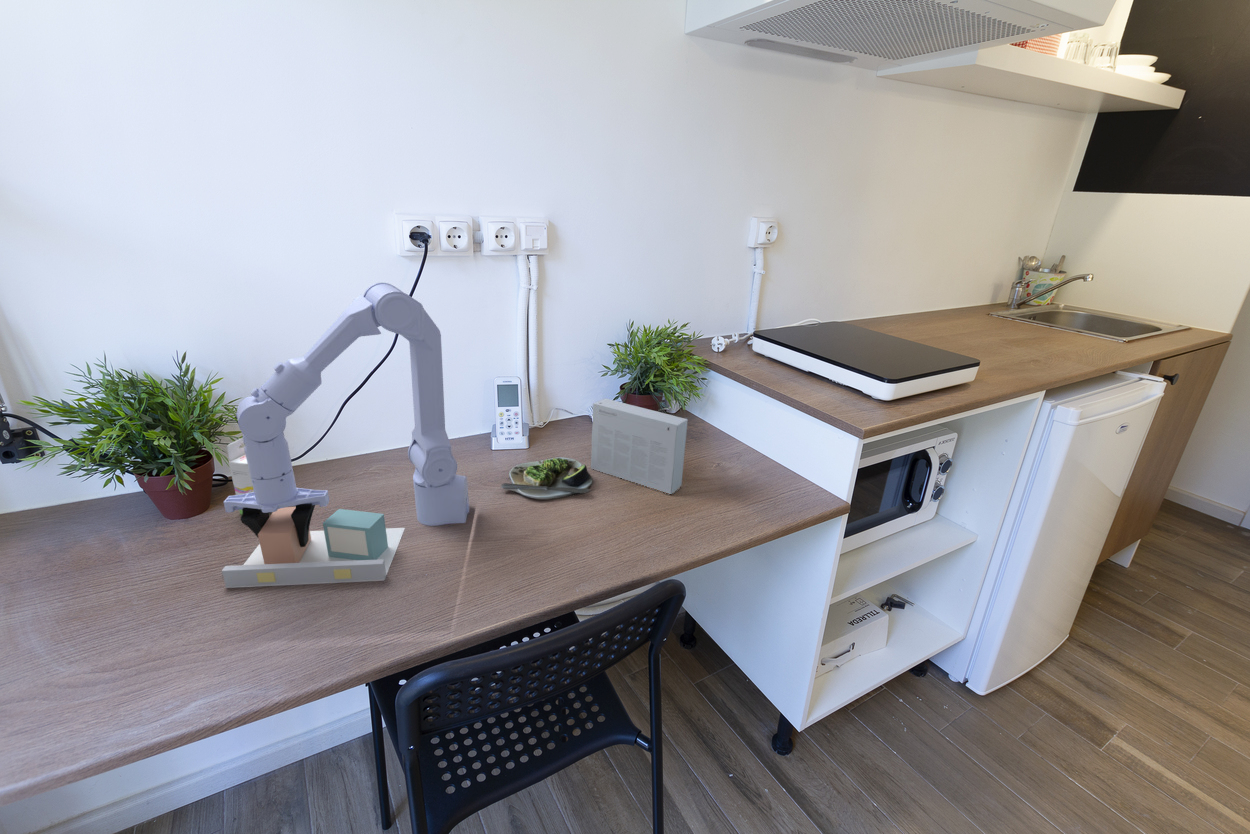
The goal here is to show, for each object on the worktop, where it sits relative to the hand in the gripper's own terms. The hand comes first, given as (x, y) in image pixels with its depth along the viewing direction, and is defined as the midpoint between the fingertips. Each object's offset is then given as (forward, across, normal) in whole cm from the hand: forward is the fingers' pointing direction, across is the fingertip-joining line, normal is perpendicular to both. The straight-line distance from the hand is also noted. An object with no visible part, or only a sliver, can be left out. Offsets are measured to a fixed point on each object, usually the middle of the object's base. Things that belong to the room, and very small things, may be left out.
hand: (287, 544), depth 96 cm
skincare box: (+3, +64, +22) cm, 67 cm away
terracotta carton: (+2, 0, 0) cm, 2 cm away
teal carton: (+2, +11, -1) cm, 11 cm away
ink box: (+3, -9, +18) cm, 20 cm away
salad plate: (+4, +46, +22) cm, 51 cm away
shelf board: (+3, +5, -1) cm, 6 cm away
